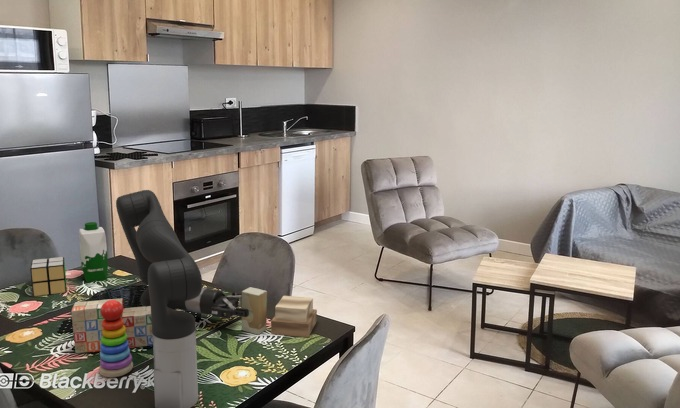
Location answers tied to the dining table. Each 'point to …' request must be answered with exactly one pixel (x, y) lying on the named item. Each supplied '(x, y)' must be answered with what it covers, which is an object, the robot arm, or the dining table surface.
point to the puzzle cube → (48, 276)
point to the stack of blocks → (90, 327)
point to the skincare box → (254, 310)
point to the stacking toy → (114, 342)
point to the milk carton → (93, 252)
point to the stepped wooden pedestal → (294, 317)
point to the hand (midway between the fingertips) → (254, 307)
